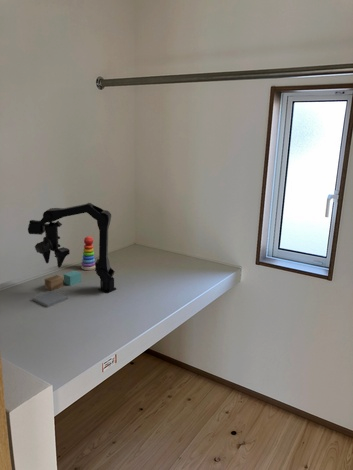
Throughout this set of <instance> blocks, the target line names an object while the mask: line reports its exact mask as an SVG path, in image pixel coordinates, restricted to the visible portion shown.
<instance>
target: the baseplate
mask: <svg viewBox="0 0 353 470" xmlns="http://www.w3.org/2000/svg"><path fill="white" fill-rule="evenodd" d="M31 300H32V301H33V302H36V303H37V304H40V305H42V306H45V307H46V308H49V307H52V306H54V305H57V304H59V303H61V302H65V301H66V300H68V296H66V295H65V294H62V293H60V292H57V291H55V290H52V291H51V290H48V291H46V292H44V293H41V294H39V295H36V296H33V297H32V298H31Z"/></svg>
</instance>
